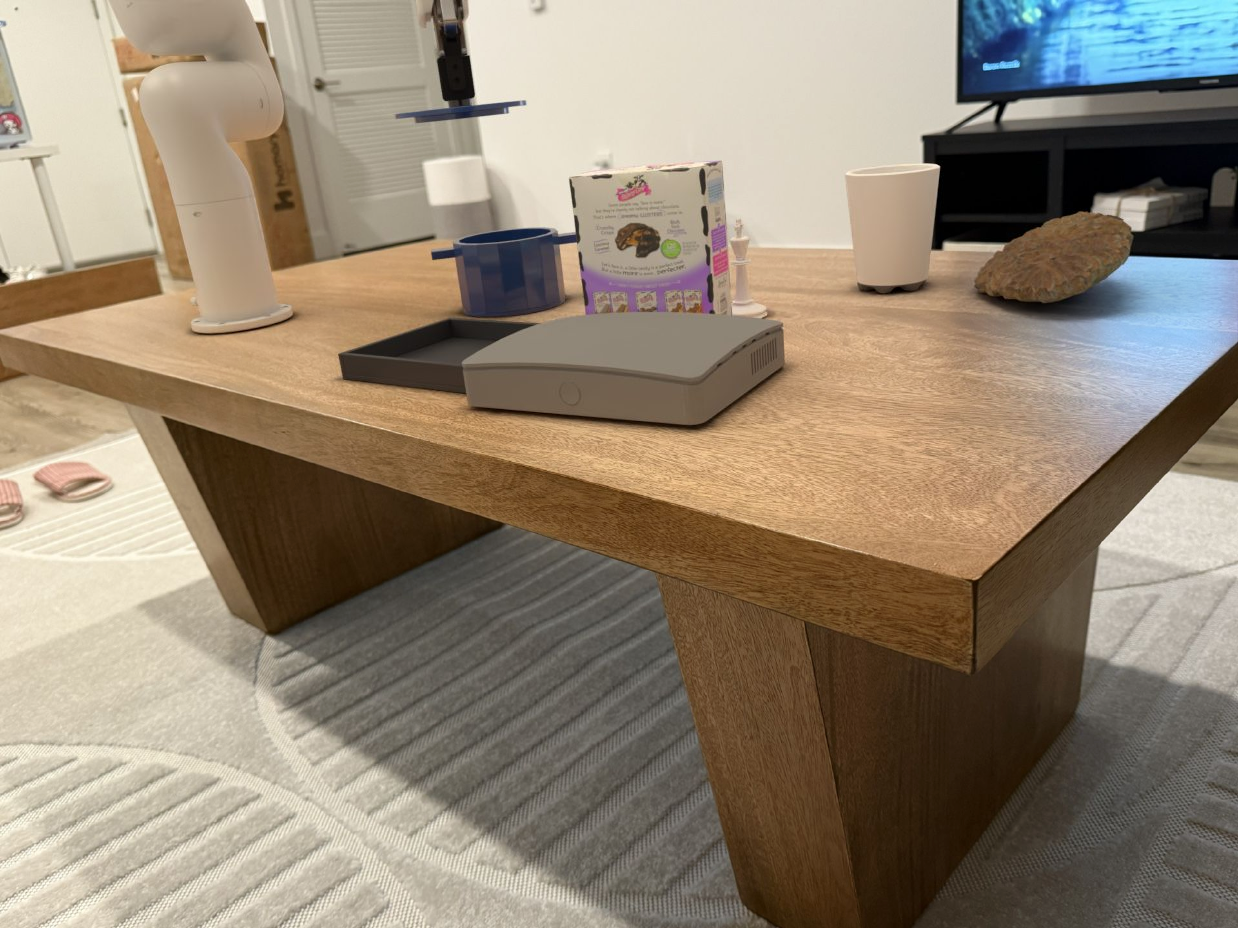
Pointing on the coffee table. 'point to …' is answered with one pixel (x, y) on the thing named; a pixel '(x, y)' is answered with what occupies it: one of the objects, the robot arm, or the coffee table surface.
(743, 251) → the chess piece
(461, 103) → the lid
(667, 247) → the candy box
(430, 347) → the tray
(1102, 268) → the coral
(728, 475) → the coffee table surface
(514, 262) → the pot
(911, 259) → the cup
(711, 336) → the electronic device
